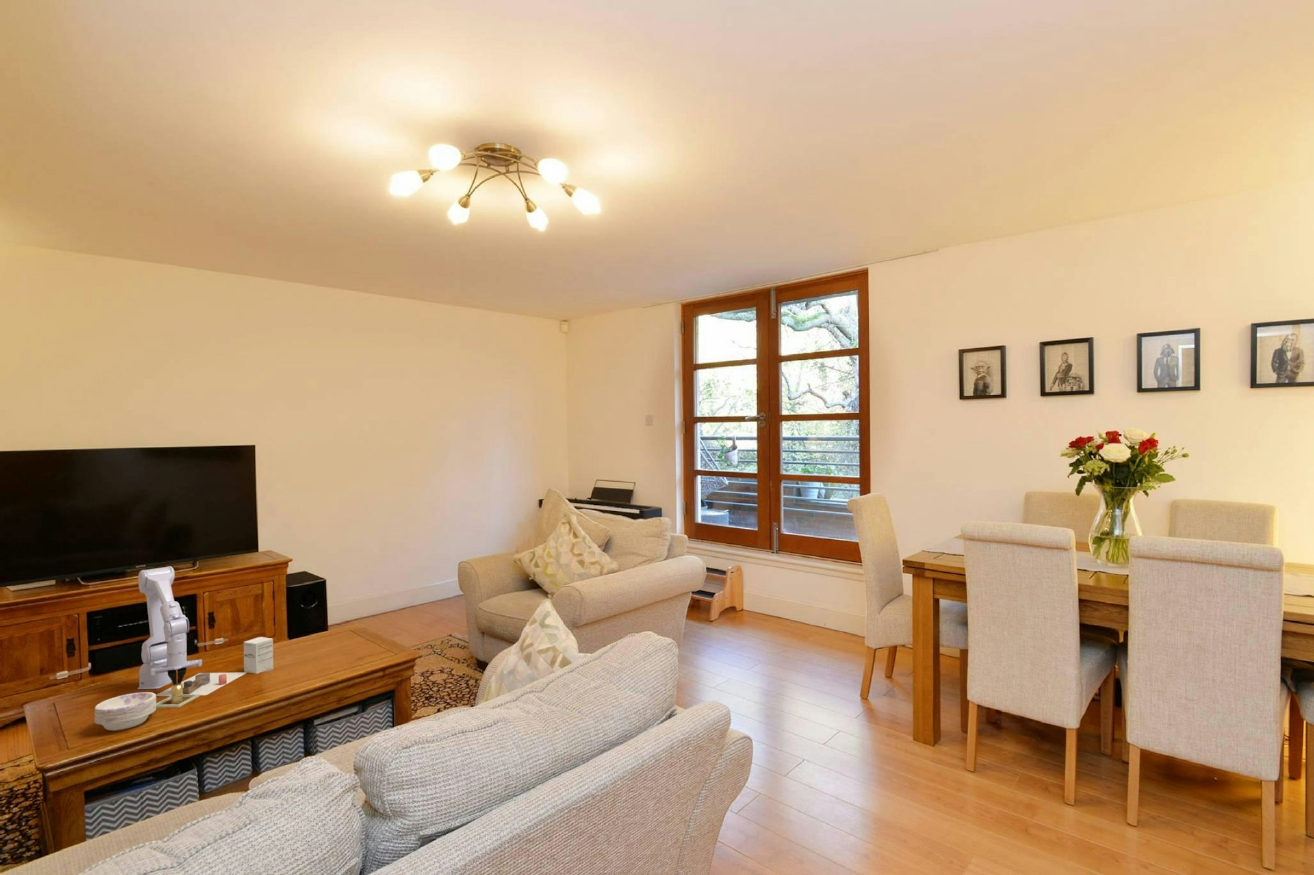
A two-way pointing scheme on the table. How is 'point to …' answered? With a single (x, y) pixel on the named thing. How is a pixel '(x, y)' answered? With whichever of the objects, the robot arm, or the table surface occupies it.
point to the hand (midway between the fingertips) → (177, 690)
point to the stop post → (222, 679)
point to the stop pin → (176, 693)
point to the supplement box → (258, 655)
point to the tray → (176, 704)
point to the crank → (196, 683)
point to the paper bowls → (125, 710)
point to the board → (209, 686)
